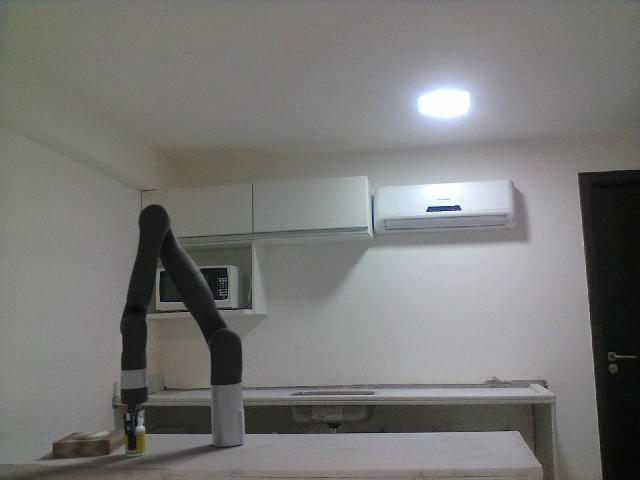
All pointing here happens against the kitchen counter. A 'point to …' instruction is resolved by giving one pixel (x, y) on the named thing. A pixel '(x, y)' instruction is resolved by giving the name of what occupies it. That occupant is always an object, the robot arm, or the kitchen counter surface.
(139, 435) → the supplement bottle
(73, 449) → the plinth
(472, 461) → the kitchen counter surface
